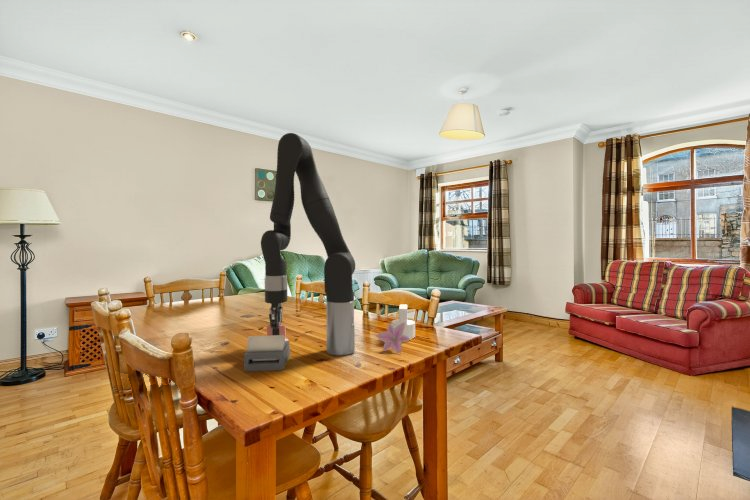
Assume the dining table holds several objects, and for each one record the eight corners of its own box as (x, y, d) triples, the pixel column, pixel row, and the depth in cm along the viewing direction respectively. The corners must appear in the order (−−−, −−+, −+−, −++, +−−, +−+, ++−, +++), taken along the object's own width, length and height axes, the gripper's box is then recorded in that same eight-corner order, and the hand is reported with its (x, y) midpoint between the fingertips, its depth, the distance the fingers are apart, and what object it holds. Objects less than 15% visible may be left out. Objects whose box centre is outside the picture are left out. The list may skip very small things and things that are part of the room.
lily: (373, 349, 124) (370, 331, 119) (395, 333, 129) (393, 315, 125) (395, 367, 116) (393, 348, 112) (417, 348, 122) (416, 330, 117)
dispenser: (290, 354, 116) (289, 326, 116) (283, 369, 102) (283, 339, 102) (255, 355, 115) (255, 327, 114) (244, 371, 101) (243, 340, 100)
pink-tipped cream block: (288, 340, 124) (288, 324, 123) (278, 359, 104) (278, 341, 103) (265, 340, 123) (265, 324, 123) (251, 360, 103) (251, 341, 103)
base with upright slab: (392, 334, 140) (392, 304, 139) (414, 334, 139) (415, 304, 138) (390, 340, 131) (390, 308, 130) (415, 341, 130) (415, 309, 130)
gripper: (284, 291, 115) (284, 343, 116) (289, 285, 129) (290, 332, 129) (260, 291, 114) (261, 344, 115) (268, 285, 128) (269, 333, 129)
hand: (276, 337), depth 122 cm, fingers closed on pink-tipped cream block, 2 cm apart
